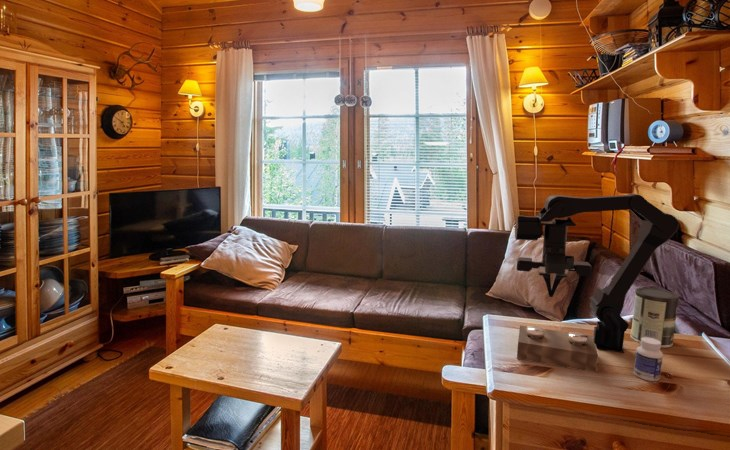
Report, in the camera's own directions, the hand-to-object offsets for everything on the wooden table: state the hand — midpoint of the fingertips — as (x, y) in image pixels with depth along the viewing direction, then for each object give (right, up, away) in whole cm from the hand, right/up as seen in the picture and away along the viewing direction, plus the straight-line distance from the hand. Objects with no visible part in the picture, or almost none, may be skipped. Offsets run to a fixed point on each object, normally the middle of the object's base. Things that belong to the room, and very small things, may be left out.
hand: (550, 296), depth 120 cm
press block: (-2, -14, -8) cm, 16 cm away
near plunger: (+2, -14, -9) cm, 17 cm away
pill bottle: (+15, -16, -18) cm, 28 cm away
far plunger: (-7, -14, -6) cm, 16 cm away
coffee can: (+30, -13, +3) cm, 33 cm away
